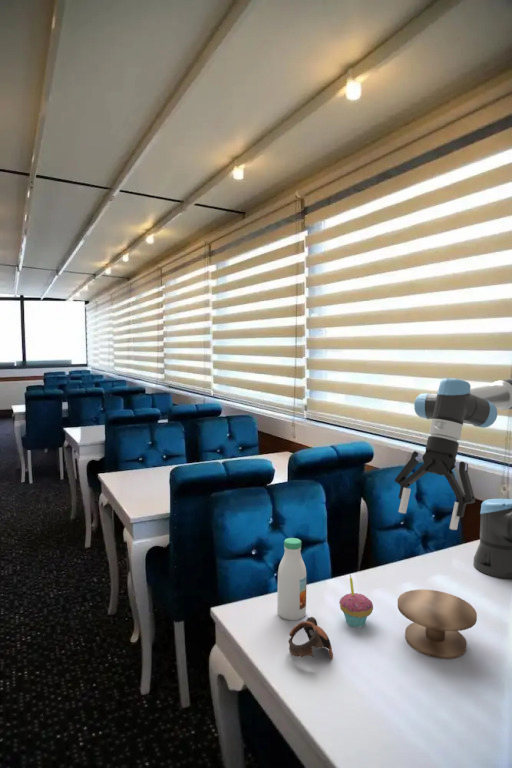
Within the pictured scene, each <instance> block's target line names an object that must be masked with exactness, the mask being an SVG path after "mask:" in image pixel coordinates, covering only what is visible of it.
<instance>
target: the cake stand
mask: <svg viewBox="0 0 512 768" xmlns="http://www.w3.org/2000/svg"><path fill="white" fill-rule="evenodd" d="M397 609H398V611H399V612H400V614H401V615H402V616H403V617H404V618H406V619H407V620H409V621H411V622H412V623H409V625H407V626H406V628H405V631H404V637H405V640H406V643H407V644H408V645H409V646H410V647H411V648H412V649H413V650H415V651H417V652H418V653H421V654H422V655H425V656H427V657H432V658H435V659H441V660H453V659H458V658H460V657H462V656H463V655H464V654H466V652H467V648H468V647H467V639H466V638H465V636H464V635H463V634H462V633H461V631H465V630H469V629H471V628H472V627H474V626H475V625H476V623H477V621H478V620H477V619H478V613H477V610H476V609H475V608H474V607H473V606H472V605H471V604H470V603H469V602H467V601H466V599H465V600H464V599H462V598H461V597H459V596H457V595H453V594H452V593H447V592H443V591H441V590H440V591H439V590H434V589H424V588H423V589H412V590H409V591H405V592H403V593H401V594H400V595H399V596H398V597H397Z"/></svg>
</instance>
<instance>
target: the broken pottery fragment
mask: <svg viewBox="0 0 512 768" xmlns="http://www.w3.org/2000/svg"><path fill="white" fill-rule="evenodd" d="M302 629H303V630H304V632H305V633H306V635H307V639H308V641H306V642H305V643H303V644H295V643H293V639H294V637H296V635H297V634H298V632H299V631H301V630H302ZM288 635H289V636H290V637H289V638H288V644H289V647H288V649H289V653H290V654H291V655H292V656H294V657H297V658H300V657H301V658H303V657H307V656H309V657H311V658H314V653H313V652H314V651H313V648H314V649H323V648H325V649H327V650H328V655H329V659H330V660H333V658H334V653H333V649H332V643H331V640H330V639H329V635H328V634H327V632H325V630H324V629H323V628H322V627H320V626H319V625H318V621H317V619H316V618H315V617H314V616H310V617H307V619H306V621H301V622H299V623H297V624H296V625H294V626H293V628H292V629H291V630H290V631H289V634H288Z"/></svg>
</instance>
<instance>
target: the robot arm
mask: <svg viewBox="0 0 512 768" xmlns="http://www.w3.org/2000/svg"><path fill="white" fill-rule="evenodd" d="M438 386H439V387H438V389H437V392H436V393H432V392H427V393H426V392H425V393H424V392H423V393H420V394H418V396H416V398H415V400H414V403H413V404H414V405H413V407H414V412H415V415H417V416H418V417H419V418H422V419H426V420H431V422H430V427H429V431H428V432H429V436H428V437H427V440H426V446H425V452H424V454H422V453H421V452H419V451H416V450H414V451H413V452H412V454H411V457H410V459H409V460H408V462H407V463H406V464H405V465H404V467H403V468H402V470H401V471H400V472H399V473H398V475H397V476H396V477H395V478H394V482H395V483H396V484H398V485H399V487H400V489H399V492H398V499H400V503H399V507H398V511H397V512H398V513H400V514H407V510H408V506H409V500H410V495H411V491H412V489H411V488H410V486H412V485H413V484H414V483H415V482H417V481H418V480H420V479H421V478H422V477H423V476H424V475H426V474H428V473H430V474H435V475H436V474H437V475H438V476H443V477H445V478H446V480H447V482H448V484H449V486H450V487H451V489H452V491H453V493H454V495H455V497H456V499H457V501H454V505H453V508H452V509H453V510H452V514H451V519H450V523H449V530H451V531H457V530H458V525H459V523H460V522H459V521H460V518H463V517H464V515H465V510H466V506H467V505H468V504H475V503H476V498H475V494H474V491H473V487H472V483H471V480H470V475H469V473H468V472H469V463H468V462H465V461H457V459H456V458H457V455H458V451H459V446H460V444H459V442H458V441H459V440H461V436H462V431H463V425H464V424H467V425H472V426H473V427H476V428H477V427H478V428H483V429H484V428H489V427H490V426H492V425H493V424H495V422H496V421H497V417H498V410H501V411H506V410H512V378H511V377H510V378H507V379H501V380H497V381H494V382H492V383H491V384H489V385H483V386H477V387H471V384H470V382H469V381H466V380H463V379H459V378H452V377H451V378H449V377H445V378H443V379H441V380H440V383H439V385H438ZM421 461H423V464H422V465H420V466H419V467H418V469H416V470H415V471H414V472H413V473H411V472H412V471H413V470H414V469H415V468H416V467H417V465H418V463H420V462H421ZM455 468H456V469H457V470H458V473H459V477H460V481H461V484H462V488H461V486H460V484H459V483H458V481H457V479H456V476H455V474H454V472H453V470H454V469H455ZM462 489H463V490H462ZM480 506H481V507H480V512H479V514H480V519H479V520H480V521H479V522H480V524H479V525H480V526H479V527H480V528H479V544H478V547H477V548H476V551H475V554H474V556H473V564H472V565H473V567H474V568H475V569H476V570H477V571H479V572H481V573H483V574H485V575H487V576H491V577H495V578H499V579H501V578H502V579H509V580H511V579H512V498H490V499H485V500H484V501H482V503H481V504H480Z"/></svg>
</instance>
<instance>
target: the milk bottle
mask: <svg viewBox="0 0 512 768" xmlns="http://www.w3.org/2000/svg"><path fill="white" fill-rule="evenodd" d="M283 547H284V548H283V549H284V552H283V553H284V554H283V556H282V558H281V560H280V563H279V565H278V570H277V595H276V597H277V599H276V600H277V602H276V603H277V605H276V607H277V608H276V609H277V611H276V612H277V614H278V616H279V617H280V618H282V619H284V620H287V621H298V620H302V619H303V618H304V617H305V615H306V614H307V569H306V565H305V562H304V560H303V558H302V552H301V550H302V540H301V539H299V538H295V537H288V538H285V540H284V542H283Z"/></svg>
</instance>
